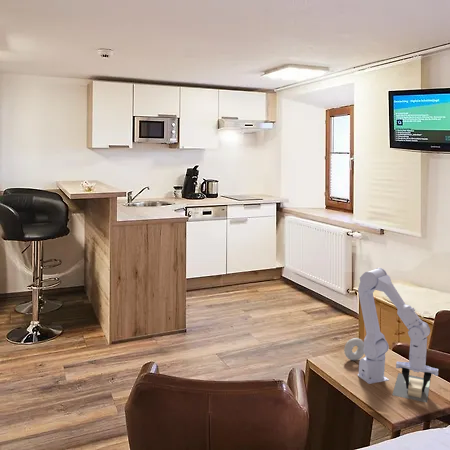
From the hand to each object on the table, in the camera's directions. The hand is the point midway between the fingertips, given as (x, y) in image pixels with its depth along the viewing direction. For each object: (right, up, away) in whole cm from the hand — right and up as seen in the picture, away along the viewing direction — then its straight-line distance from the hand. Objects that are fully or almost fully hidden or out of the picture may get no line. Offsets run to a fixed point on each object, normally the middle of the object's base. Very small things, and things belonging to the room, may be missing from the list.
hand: (415, 389), depth 179 cm
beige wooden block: (0, -1, 0) cm, 1 cm away
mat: (0, -1, +4) cm, 4 cm away
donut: (-15, +3, +28) cm, 32 cm away
